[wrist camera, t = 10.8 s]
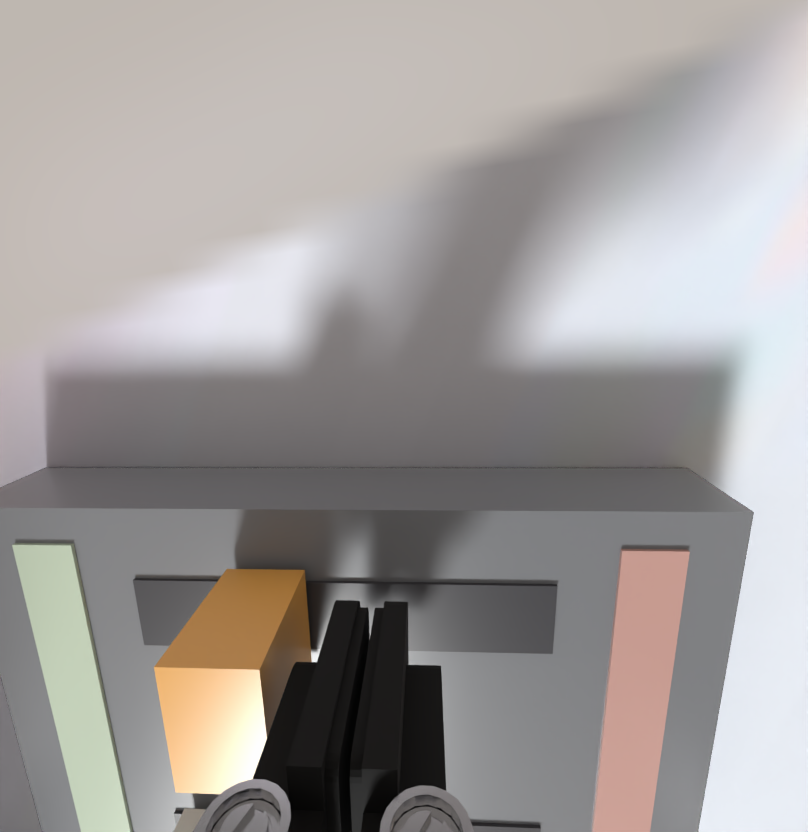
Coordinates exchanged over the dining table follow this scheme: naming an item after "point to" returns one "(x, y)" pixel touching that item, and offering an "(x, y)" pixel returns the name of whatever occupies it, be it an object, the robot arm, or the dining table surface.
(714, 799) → the dining table surface
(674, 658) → the breaker panel
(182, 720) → the breaker handle
